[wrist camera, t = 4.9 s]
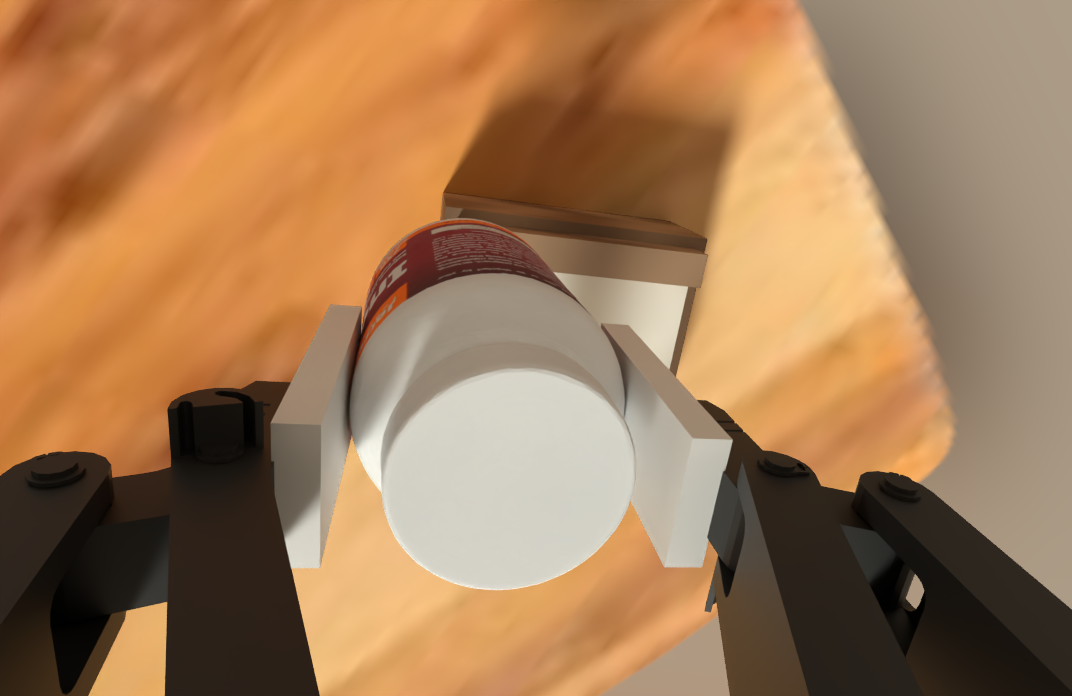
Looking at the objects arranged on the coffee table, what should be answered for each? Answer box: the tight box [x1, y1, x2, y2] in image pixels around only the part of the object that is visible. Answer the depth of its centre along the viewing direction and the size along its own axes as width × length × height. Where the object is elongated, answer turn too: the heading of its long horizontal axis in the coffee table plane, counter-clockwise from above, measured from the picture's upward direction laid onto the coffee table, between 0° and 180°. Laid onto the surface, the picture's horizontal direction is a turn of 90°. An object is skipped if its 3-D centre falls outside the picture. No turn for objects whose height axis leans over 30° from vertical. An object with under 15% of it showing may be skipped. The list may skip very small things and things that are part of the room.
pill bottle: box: [350, 218, 636, 590], centre depth 17 cm, size 6×6×11 cm
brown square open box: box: [440, 192, 708, 377], centre depth 32 cm, size 12×12×6 cm
